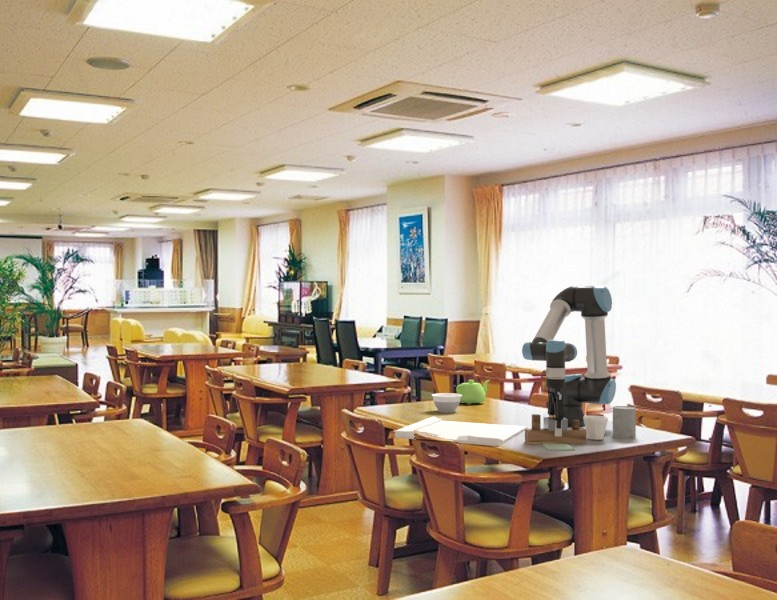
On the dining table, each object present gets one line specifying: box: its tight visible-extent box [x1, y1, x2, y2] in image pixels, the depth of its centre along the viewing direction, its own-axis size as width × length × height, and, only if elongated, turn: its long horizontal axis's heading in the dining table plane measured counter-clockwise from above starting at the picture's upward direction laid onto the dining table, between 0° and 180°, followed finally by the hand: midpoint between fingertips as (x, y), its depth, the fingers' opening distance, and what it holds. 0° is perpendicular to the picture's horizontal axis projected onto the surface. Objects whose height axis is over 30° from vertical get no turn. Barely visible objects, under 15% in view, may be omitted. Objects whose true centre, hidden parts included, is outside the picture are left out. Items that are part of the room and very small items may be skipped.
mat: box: [541, 444, 576, 452], centre depth 311 cm, size 10×10×1 cm
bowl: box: [431, 392, 462, 414], centre depth 412 cm, size 16×16×9 cm
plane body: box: [524, 413, 587, 445], centre depth 323 cm, size 5×24×12 cm, turn 94°
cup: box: [583, 415, 609, 441], centre depth 331 cm, size 10×10×9 cm
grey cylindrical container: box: [612, 405, 637, 439], centre depth 338 cm, size 10×10×12 cm
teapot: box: [455, 379, 491, 405], centre depth 444 cm, size 22×15×13 cm
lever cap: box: [542, 415, 569, 431], centre depth 323 cm, size 7×8×6 cm
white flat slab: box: [394, 415, 528, 447], centre depth 345 cm, size 45×45×4 cm
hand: (555, 434), depth 323 cm, fingers closed on lever cap, 7 cm apart
